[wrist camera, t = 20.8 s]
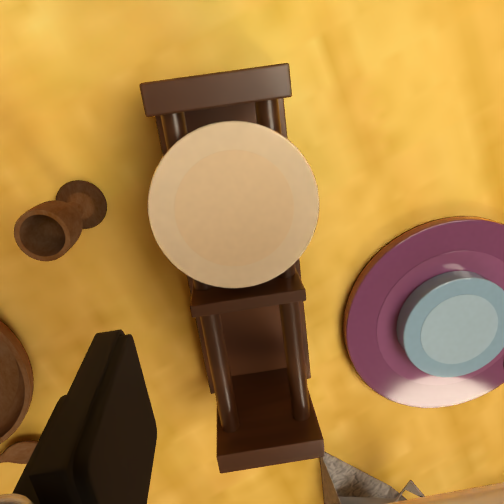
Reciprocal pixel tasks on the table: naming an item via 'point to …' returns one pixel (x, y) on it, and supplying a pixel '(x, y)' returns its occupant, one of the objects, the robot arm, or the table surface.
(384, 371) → the plum plate
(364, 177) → the table surface
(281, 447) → the plate rack
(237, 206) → the cream plate
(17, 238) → the place setting
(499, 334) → the blue plate
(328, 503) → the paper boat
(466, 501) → the robot arm
